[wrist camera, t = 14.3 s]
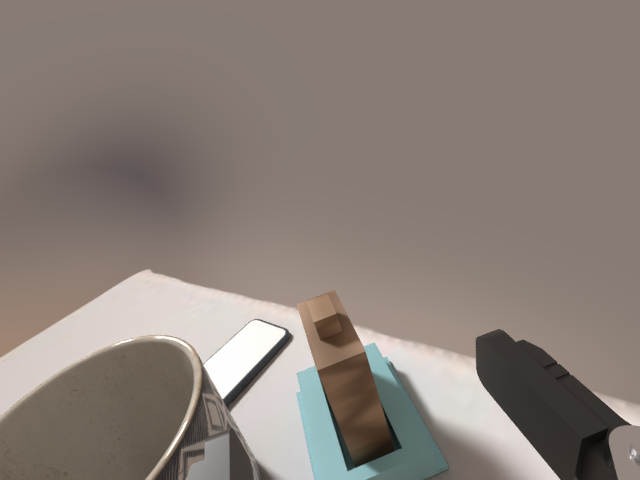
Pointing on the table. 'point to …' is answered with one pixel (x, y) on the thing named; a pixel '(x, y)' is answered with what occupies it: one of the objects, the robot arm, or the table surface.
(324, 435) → the teal rack
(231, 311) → the table surface
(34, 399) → the planter
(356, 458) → the brown wooden bottle
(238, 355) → the phone case
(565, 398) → the robot arm
